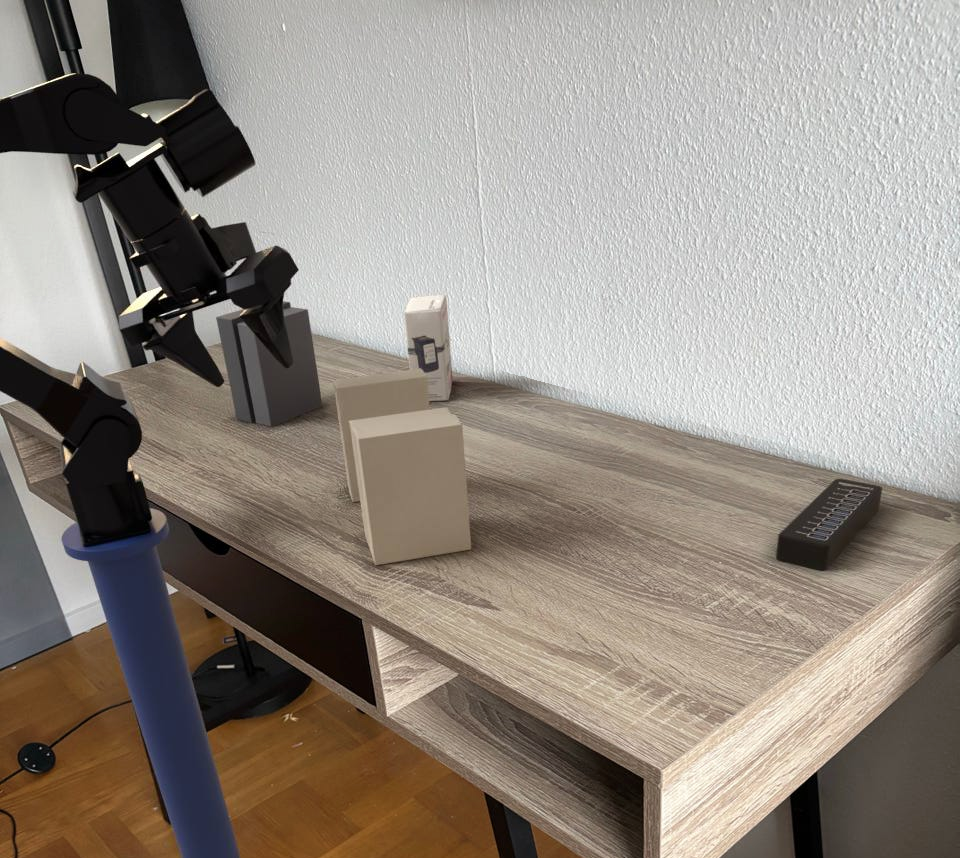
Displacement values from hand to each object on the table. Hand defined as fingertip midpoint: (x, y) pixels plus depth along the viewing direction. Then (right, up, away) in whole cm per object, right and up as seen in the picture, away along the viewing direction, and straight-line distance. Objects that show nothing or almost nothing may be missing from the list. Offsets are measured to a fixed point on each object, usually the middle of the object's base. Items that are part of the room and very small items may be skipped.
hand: (254, 375), depth 93 cm
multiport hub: (+54, -17, -8) cm, 57 cm away
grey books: (-4, +4, +31) cm, 32 cm away
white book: (+13, -10, +7) cm, 18 cm away
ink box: (+16, +7, +35) cm, 39 cm away
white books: (+16, -17, -4) cm, 24 cm away
